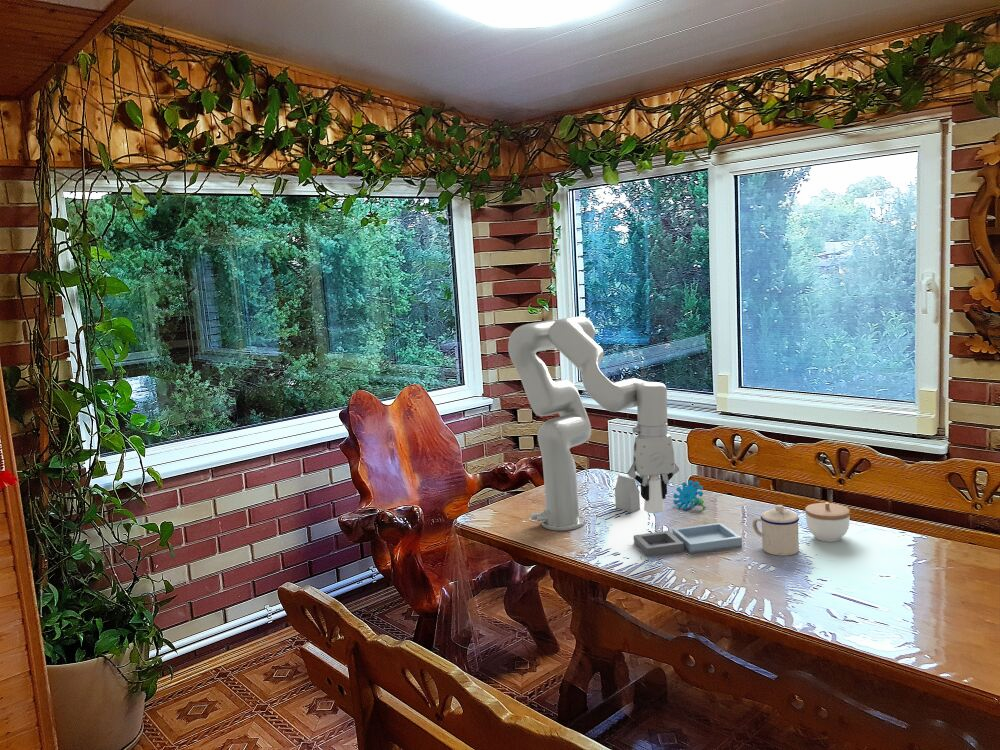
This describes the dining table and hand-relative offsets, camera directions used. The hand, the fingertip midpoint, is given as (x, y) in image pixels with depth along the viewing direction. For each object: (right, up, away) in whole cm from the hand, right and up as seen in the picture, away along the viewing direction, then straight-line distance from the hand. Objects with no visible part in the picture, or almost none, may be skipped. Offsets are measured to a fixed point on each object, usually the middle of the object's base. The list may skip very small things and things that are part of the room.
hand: (653, 497), depth 198 cm
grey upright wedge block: (-1, -9, +34) cm, 35 cm away
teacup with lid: (+30, -12, -5) cm, 33 cm away
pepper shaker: (0, -4, +1) cm, 4 cm away
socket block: (+2, -13, +1) cm, 14 cm away
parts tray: (+14, -12, +2) cm, 19 cm away
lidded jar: (+45, -11, -1) cm, 47 cm away
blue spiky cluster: (+17, -8, +31) cm, 37 cm away
